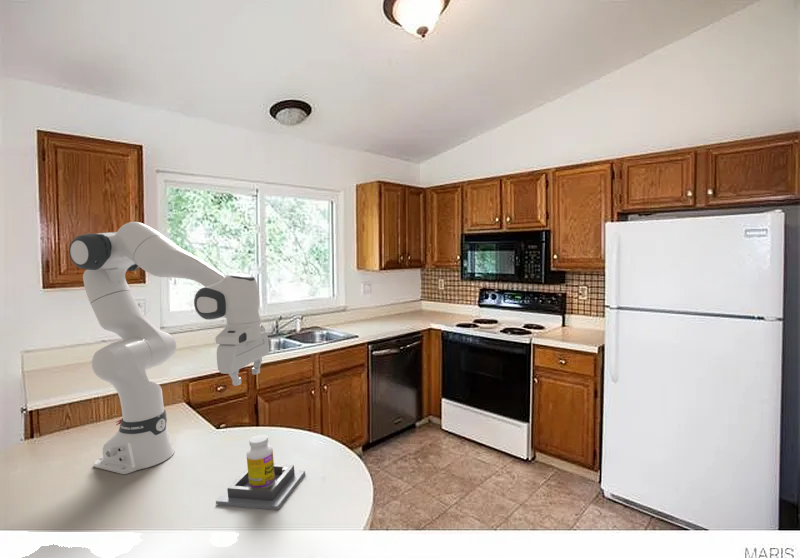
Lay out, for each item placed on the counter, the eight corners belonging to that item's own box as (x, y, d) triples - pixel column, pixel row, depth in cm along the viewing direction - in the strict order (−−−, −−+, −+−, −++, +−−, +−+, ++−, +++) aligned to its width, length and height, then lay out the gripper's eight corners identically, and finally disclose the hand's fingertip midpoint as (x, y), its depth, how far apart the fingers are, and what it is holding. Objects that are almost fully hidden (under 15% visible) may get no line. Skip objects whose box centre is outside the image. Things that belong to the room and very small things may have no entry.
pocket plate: (216, 504, 106) (214, 491, 106) (250, 470, 122) (249, 459, 121) (277, 510, 102) (276, 496, 102) (305, 474, 118) (304, 462, 118)
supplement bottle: (267, 493, 108) (263, 445, 107) (244, 491, 109) (240, 444, 108) (279, 478, 115) (276, 433, 113) (257, 477, 116) (254, 432, 115)
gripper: (254, 323, 128) (256, 367, 129) (210, 339, 108) (214, 391, 109) (273, 323, 126) (275, 368, 128) (232, 340, 107) (235, 392, 108)
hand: (246, 379), depth 118 cm, fingers open, 8 cm apart
